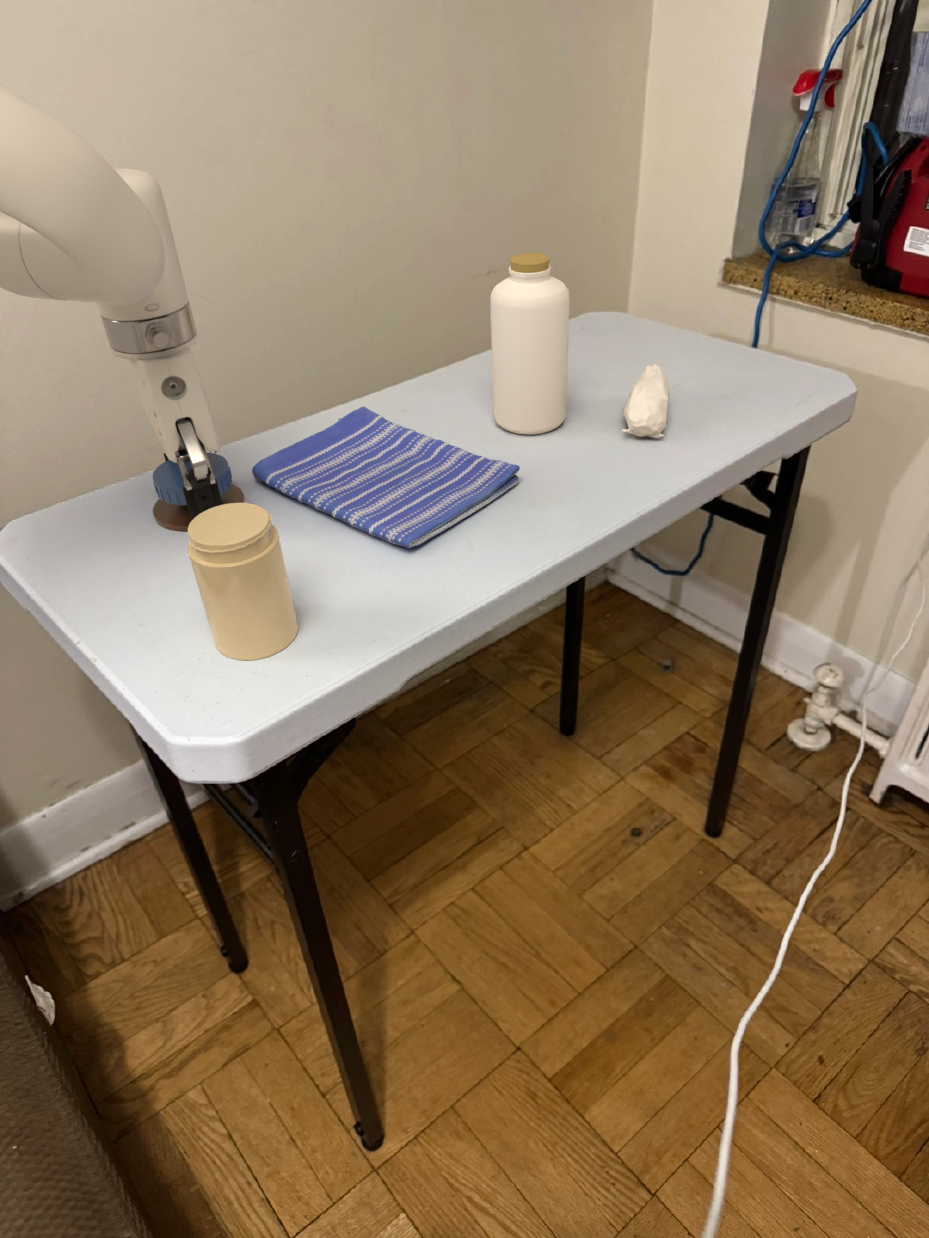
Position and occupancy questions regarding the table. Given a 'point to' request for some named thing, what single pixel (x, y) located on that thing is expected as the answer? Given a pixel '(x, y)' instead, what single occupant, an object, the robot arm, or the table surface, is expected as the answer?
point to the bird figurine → (648, 404)
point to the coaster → (179, 514)
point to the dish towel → (386, 478)
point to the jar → (242, 580)
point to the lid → (171, 480)
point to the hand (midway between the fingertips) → (198, 500)
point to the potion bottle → (530, 346)
